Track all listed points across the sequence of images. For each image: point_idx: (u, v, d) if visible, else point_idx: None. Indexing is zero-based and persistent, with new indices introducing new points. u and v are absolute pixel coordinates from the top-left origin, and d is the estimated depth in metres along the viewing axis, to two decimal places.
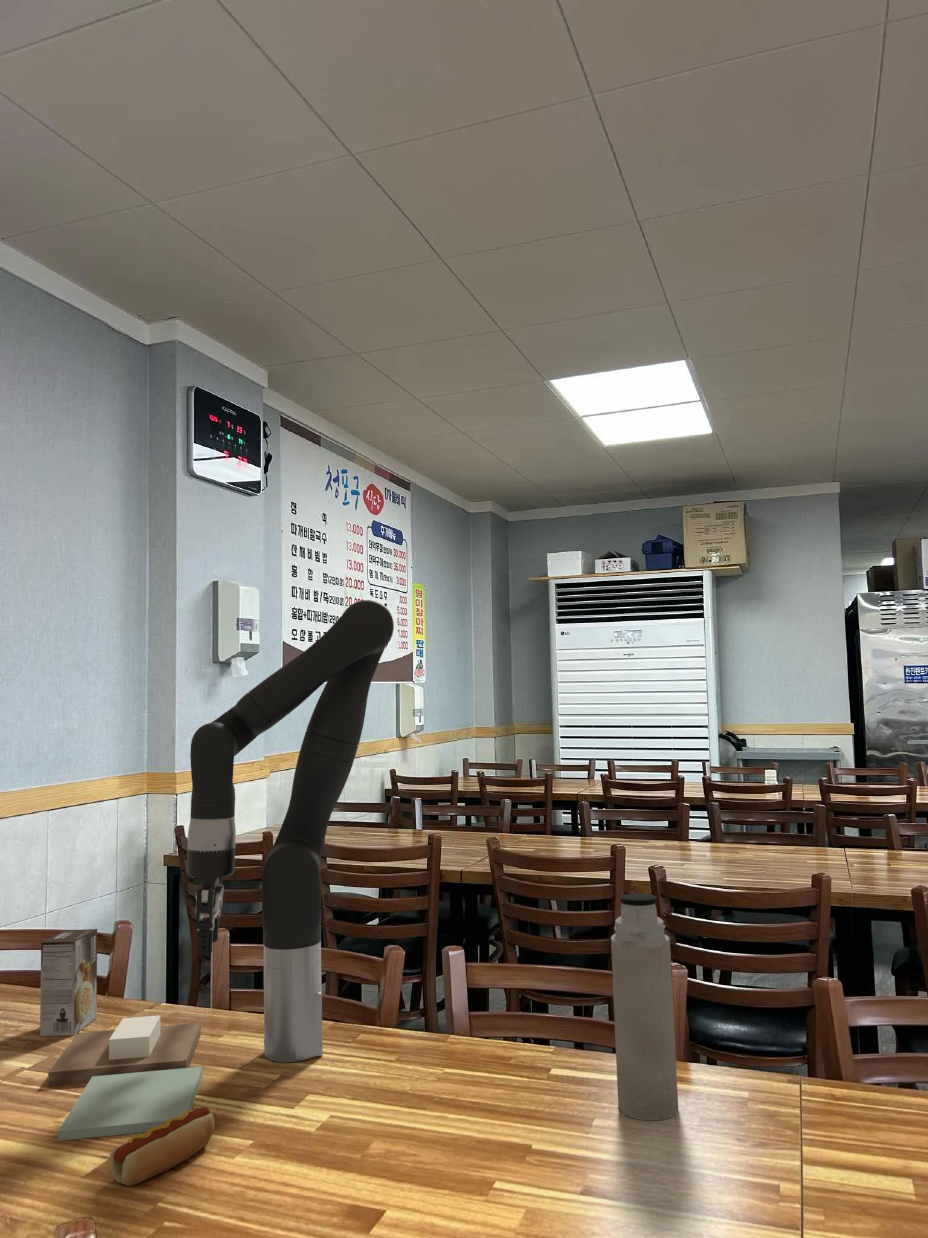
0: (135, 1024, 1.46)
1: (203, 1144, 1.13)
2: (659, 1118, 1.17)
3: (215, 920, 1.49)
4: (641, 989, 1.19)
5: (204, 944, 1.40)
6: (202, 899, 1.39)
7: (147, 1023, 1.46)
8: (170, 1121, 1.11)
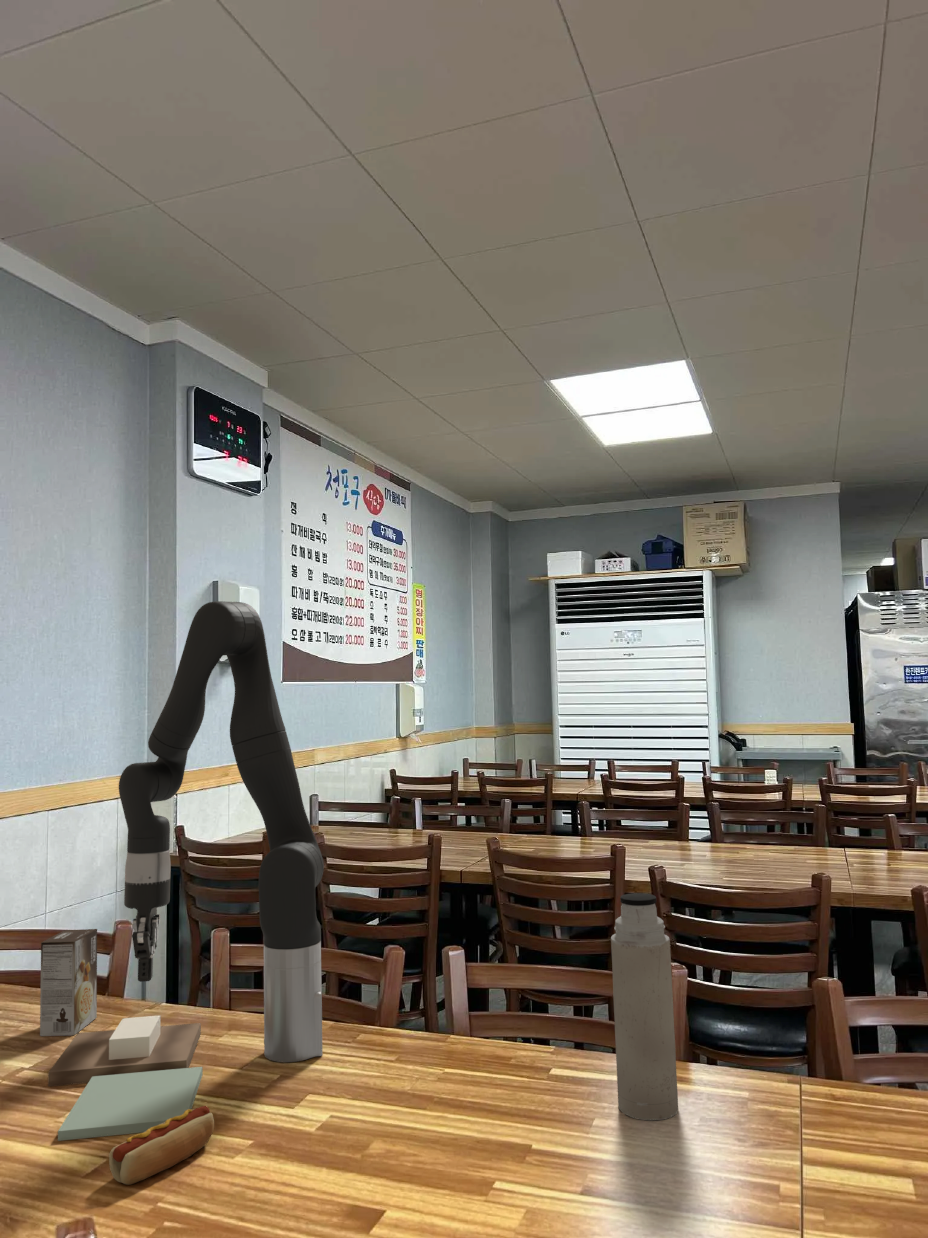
0: (135, 1024, 1.46)
1: (203, 1143, 1.13)
2: (659, 1118, 1.17)
3: None
4: (641, 989, 1.19)
5: (144, 971, 1.54)
6: (138, 941, 1.50)
7: (147, 1023, 1.46)
8: (170, 1120, 1.11)
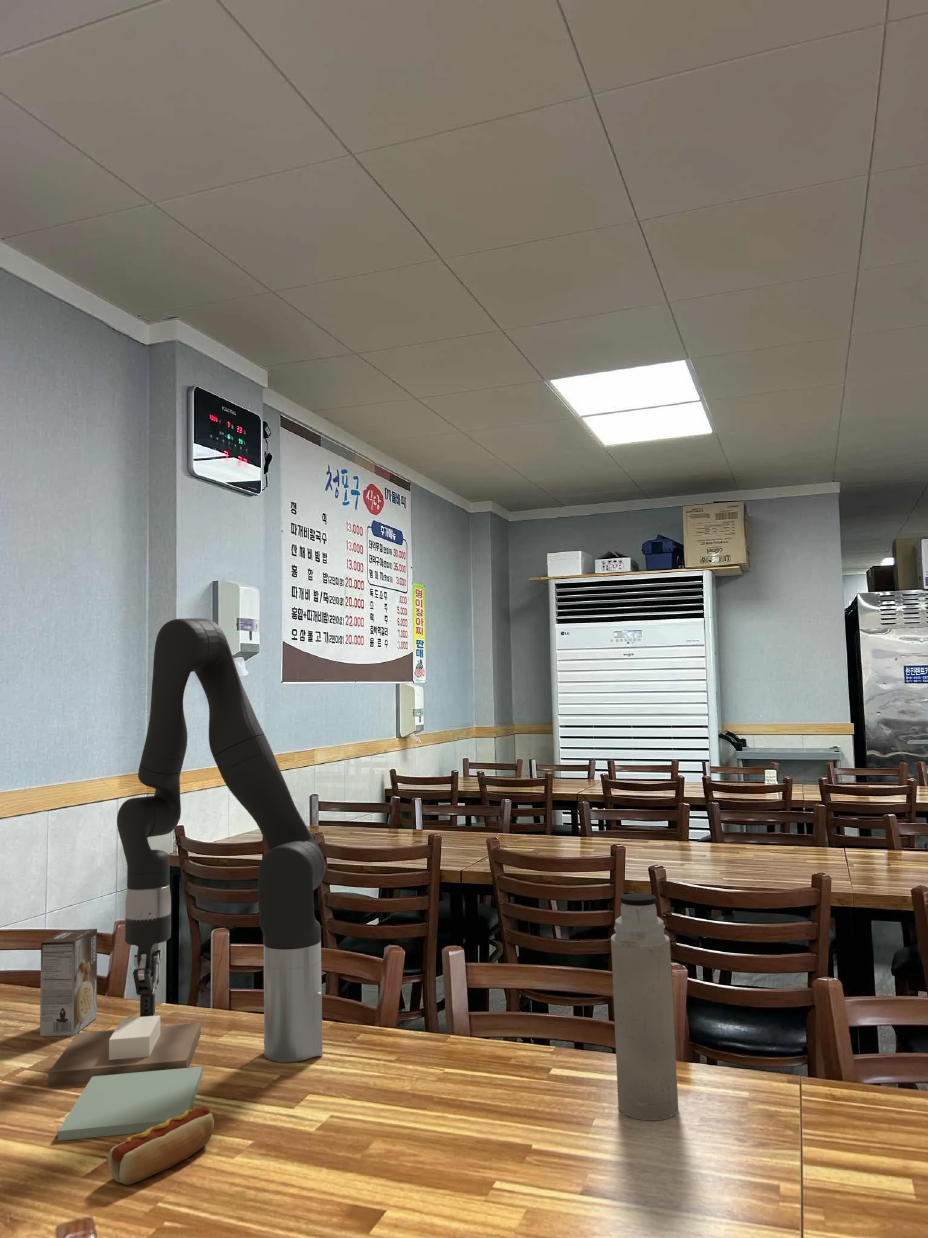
0: (135, 1024, 1.46)
1: (202, 1144, 1.13)
2: (659, 1118, 1.17)
3: None
4: (641, 989, 1.19)
5: (146, 1007, 1.53)
6: (139, 979, 1.49)
7: (147, 1023, 1.46)
8: (169, 1120, 1.11)
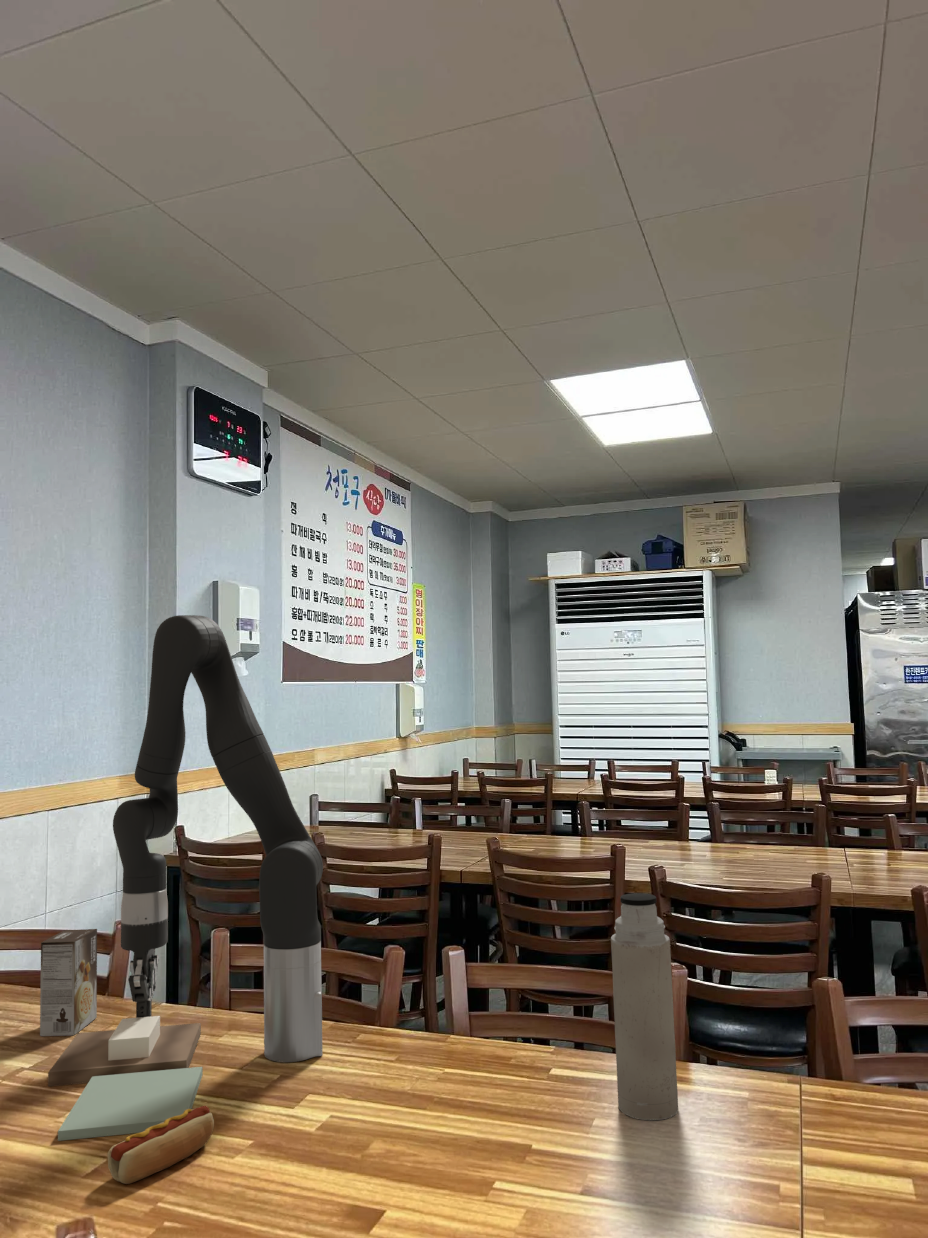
0: (134, 1024, 1.46)
1: (202, 1143, 1.13)
2: (659, 1118, 1.17)
3: None
4: (641, 989, 1.19)
5: (142, 1014, 1.49)
6: (135, 985, 1.46)
7: (146, 1024, 1.45)
8: (169, 1120, 1.11)
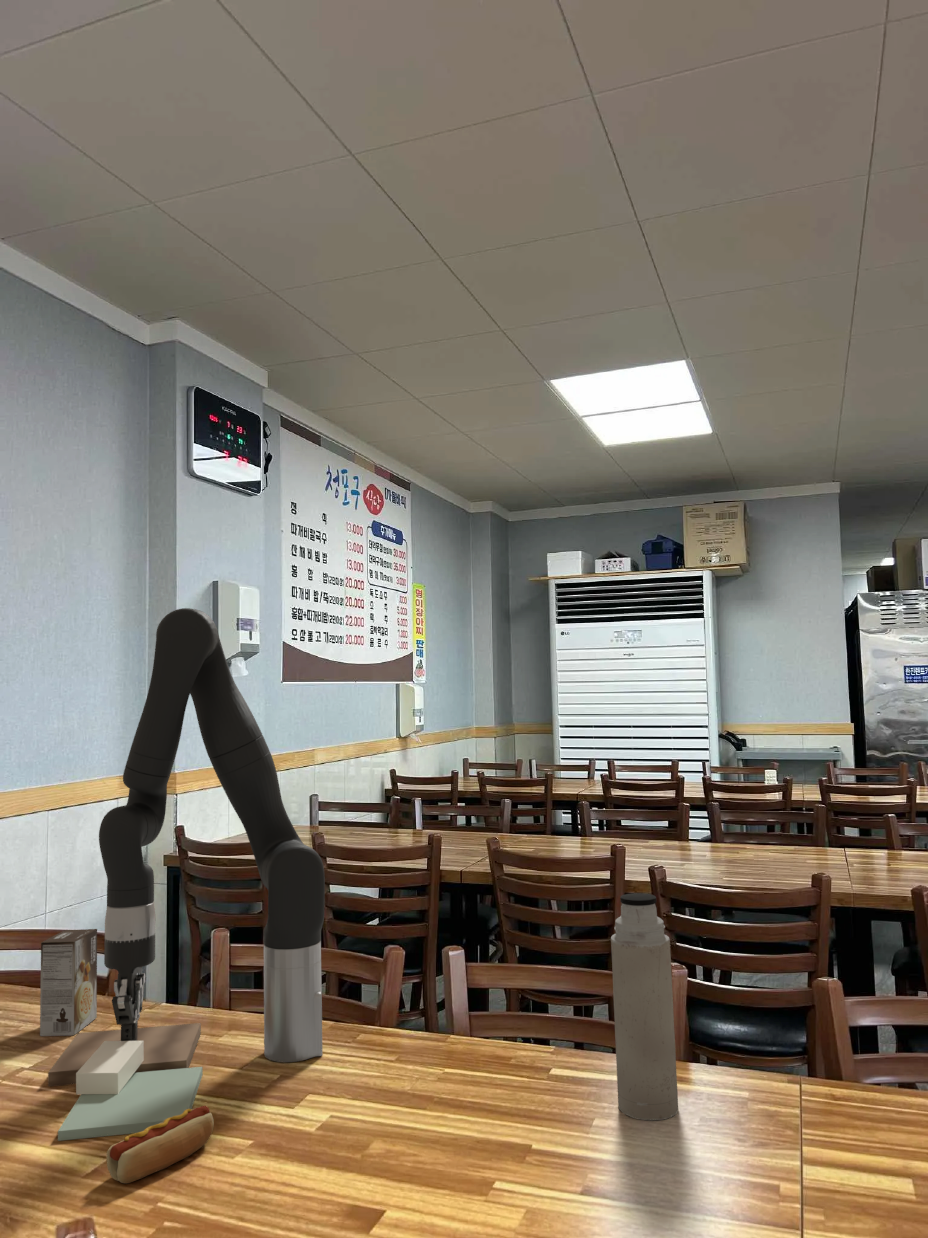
0: (112, 1051, 1.34)
1: (202, 1143, 1.13)
2: (659, 1118, 1.17)
3: None
4: (641, 989, 1.19)
5: (127, 1038, 1.38)
6: (119, 1007, 1.35)
7: (124, 1052, 1.34)
8: (168, 1120, 1.11)
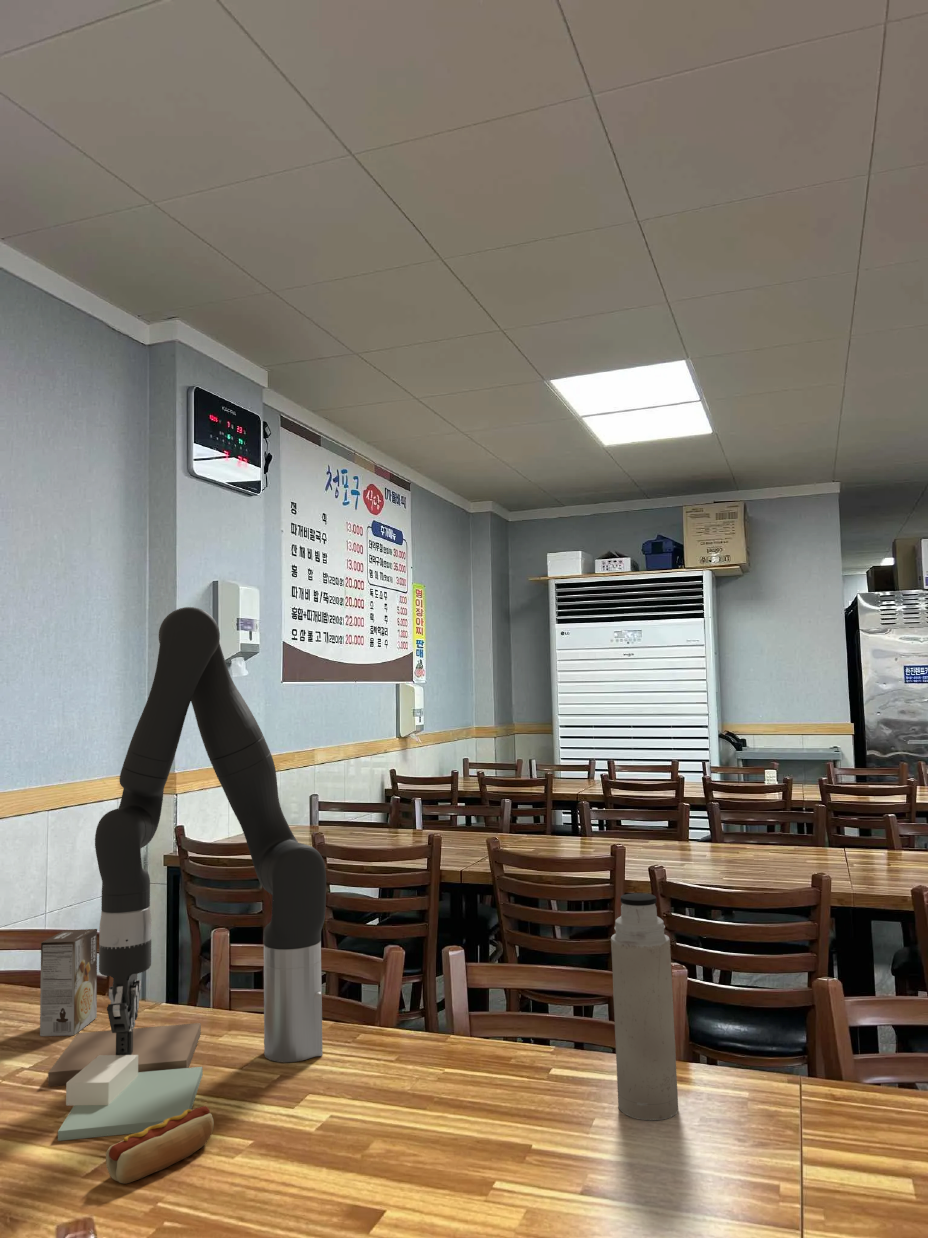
0: (105, 1064, 1.31)
1: (201, 1144, 1.13)
2: (659, 1118, 1.17)
3: None
4: (641, 989, 1.19)
5: (123, 1047, 1.35)
6: (114, 1015, 1.31)
7: (117, 1065, 1.31)
8: (168, 1120, 1.11)
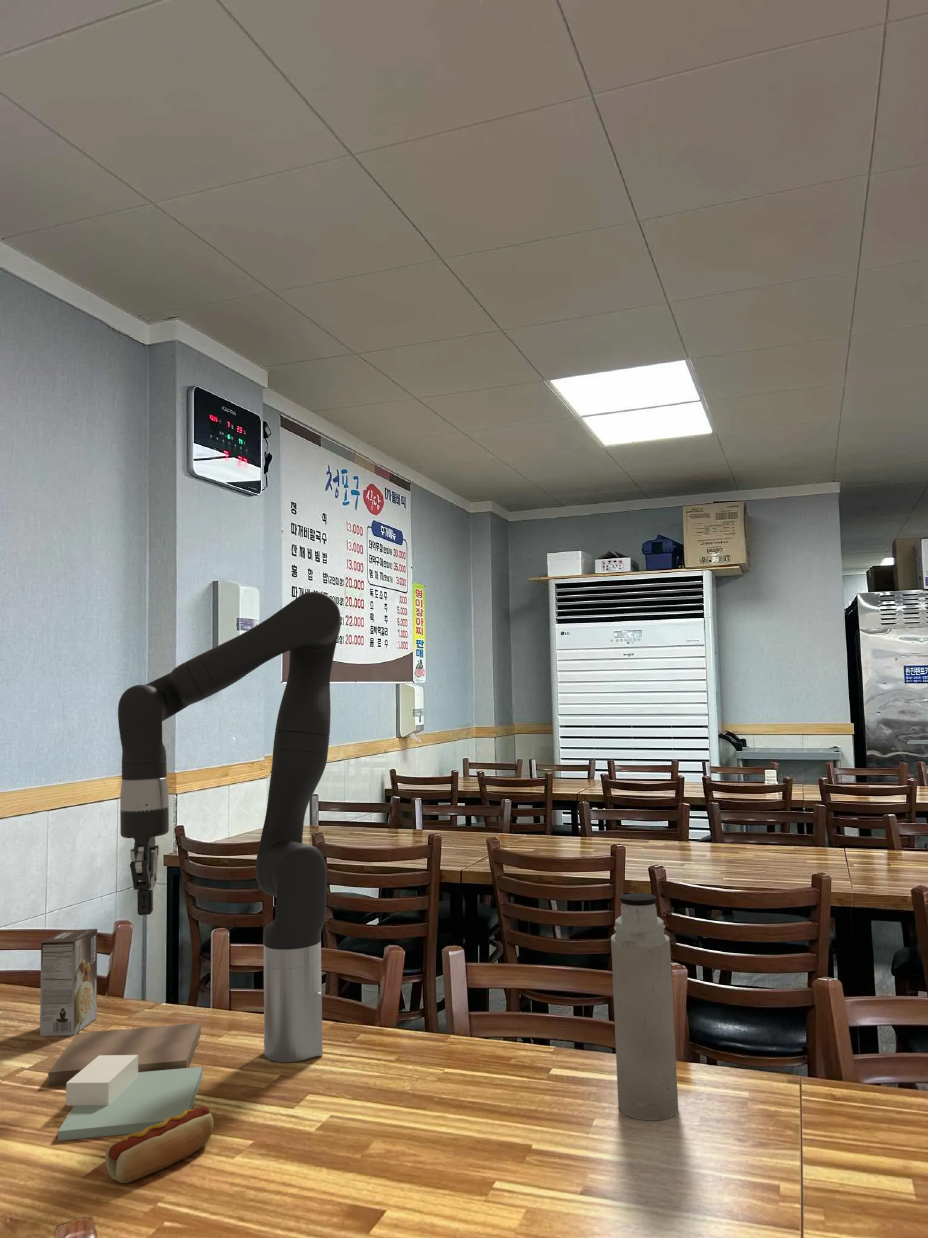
0: (105, 1064, 1.31)
1: (201, 1144, 1.13)
2: (659, 1118, 1.17)
3: None
4: (641, 989, 1.19)
5: (144, 904, 1.45)
6: (136, 871, 1.42)
7: (117, 1065, 1.31)
8: (168, 1120, 1.11)
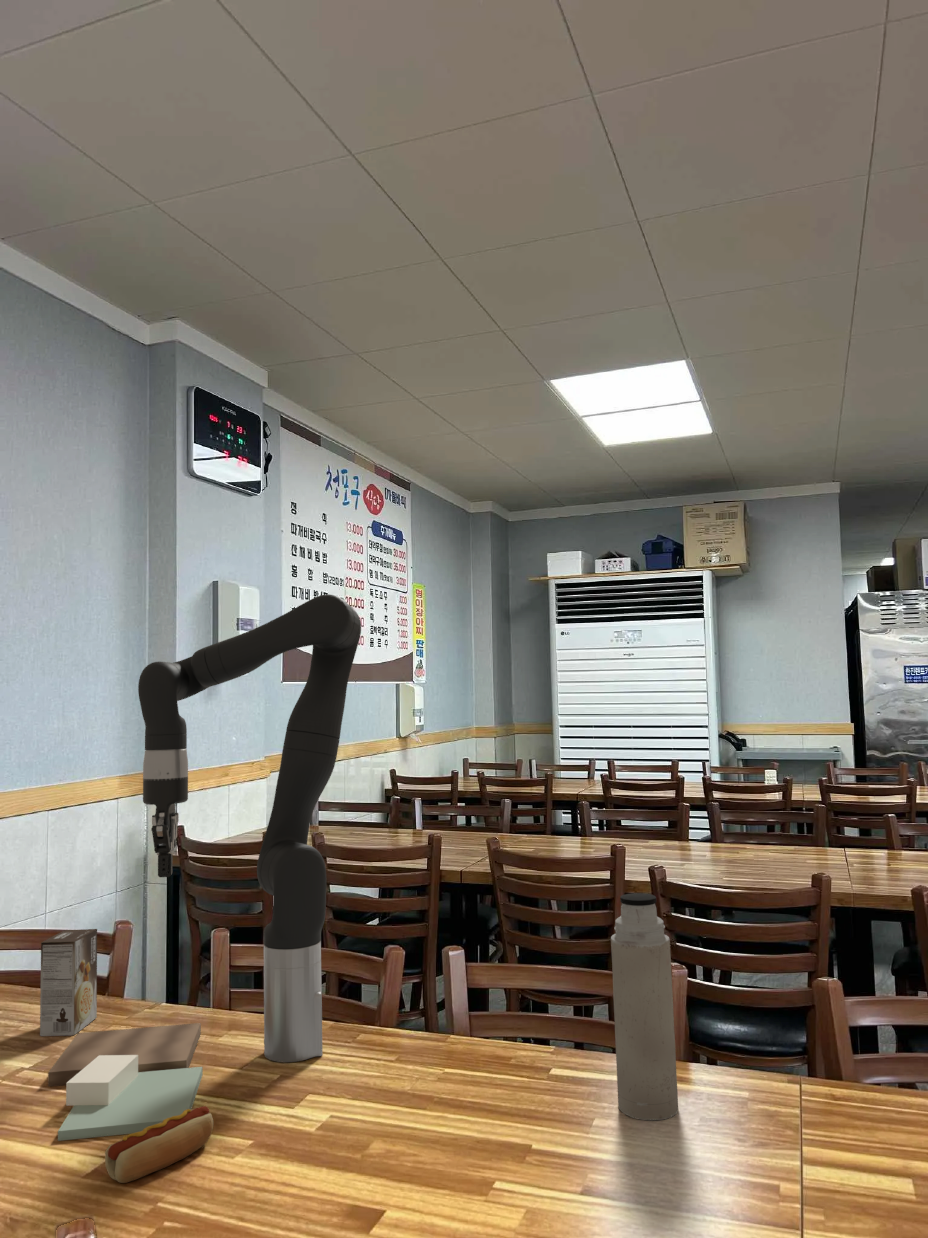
0: (105, 1064, 1.31)
1: (201, 1144, 1.13)
2: (659, 1118, 1.17)
3: None
4: (641, 989, 1.19)
5: (164, 866, 1.55)
6: (157, 835, 1.51)
7: (117, 1065, 1.31)
8: (167, 1120, 1.11)
